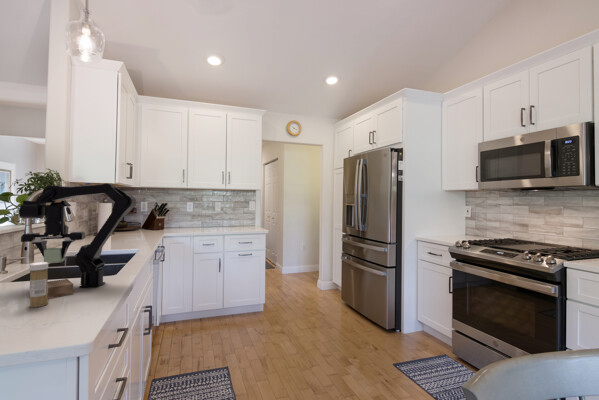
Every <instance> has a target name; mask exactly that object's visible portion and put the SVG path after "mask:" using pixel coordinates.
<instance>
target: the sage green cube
mask: <svg viewBox="0 0 599 400" xmlns="http://www.w3.org/2000/svg"><path fill="white" fill-rule="evenodd" d="M65 259H66V256H65V257H64V259H62V247H48V248H47V249H45V250H44V257H43V262H47V263H48V264H57V263H62V262H64V261H65Z"/></svg>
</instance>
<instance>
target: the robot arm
mask: <svg viewBox="0 0 599 400" xmlns="http://www.w3.org/2000/svg"><path fill="white" fill-rule="evenodd" d="M102 194H103V195H104V194H105V195H106V196H107V197H109V199H110V200H111V201H113V202H114V204H112V205H113V206H112V210H111V213H110V215H109V216H108V217H107V218H106V220H105V222H104V223H103V225H102V227H101V228H100V229H99V230H98V232H97V234H96V235H95V236H94V238H93V239H92V240H91V242H90V243H88V244H85V245H81V247H80V248H79V251H78V252H77V253H76V254H74V256H75V259H74V263H75V264H76V265H77V267H78V268H79V271H80V273H81V274H80V285H79V286H78V287H79V289H80V288H85V289H86V288H91V289H92V288H98V287H100V286H102V285H104V284H106V281H104V269H103V268H104V267H105V264H106V262H105V261H104V260H103V259H102V258H100V256H101V255H102V252H103V247H104V245H105V244H106V242H108V240H109V238H110V237H111V235H112V234H113V232H114V231H115V229H116V228H117V227H118V225H119V224H120V222H121V221H122V219H123V218H124V217H125V216H127V214H129V213H130V212H131V211H132V210H133V209H134V207H135V206H136V205H137V199H136V197H135V196H134V195H131V194H127V193H126V192H124V191H122V190H121V189H119V188H118V187H116V186H115V185H114V184H112V183H107V182H105V183H103V184H101V183H100V184H90V185H89V184H87V185H77V186H66V185H64V186H63V185H47V186H44V188H43V189H42V193H41V194H40V195H39V196H38V198H37V199H36V200H35V201H34V200H23V201H22V204H21V205H20V207H19V209H18V214H19V215H18V216H20V218H21V219H28V220H30V219H43V218H45V219H44V221H43V224H44V232H43V234H41V232H26V233H23V234H21V236H20V242H21V243H28V242H31V245H35V246H36V248H37V249H38V250H39V251H40V254H41V256H42V257H43V258H44V250H45V249H48V248H47V247H48V246H47V243H48V240H59V239H60V240H61V239H63V240H62V242H61V248H62V259H64V257H65V258H66V255H67V252H68V249H69V247H70V246H71V244H72V243H74V242H76V241H81V240H84V239H86V232H85V231H72V232H71V231H70V233H69V226H68V225H66V220H65V207H71V206H72V205H71V204H70V203H69V202H67V200H68V199H71V198H75V197H81V196H83V197H84V196H92V195H93V196H94V195H102Z"/></svg>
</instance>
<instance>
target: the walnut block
mask: <svg viewBox="0 0 599 400" xmlns="http://www.w3.org/2000/svg"><path fill="white" fill-rule="evenodd" d="M69 295H70V296H71V295H74V283H73V282H72V281H70V279H68V278H63V279H57V280H50V281H48V294H47V300H48V299H53V298H59V297H60V298H61V297H64V296H69Z"/></svg>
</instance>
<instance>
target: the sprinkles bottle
mask: <svg viewBox="0 0 599 400" xmlns="http://www.w3.org/2000/svg"><path fill="white" fill-rule="evenodd" d="M48 269H49V263H47V262H44V261H43V262H42V261H40V262H33V263H30V264H29V273H30V274H29V279H30V280H29V307H30V308H39V307H44V306H46V305H48V303H49V301H48V299H47V294H48V282H49V281H48V277H49V276H48V274H49V273H48V271H49V270H48Z"/></svg>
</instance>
